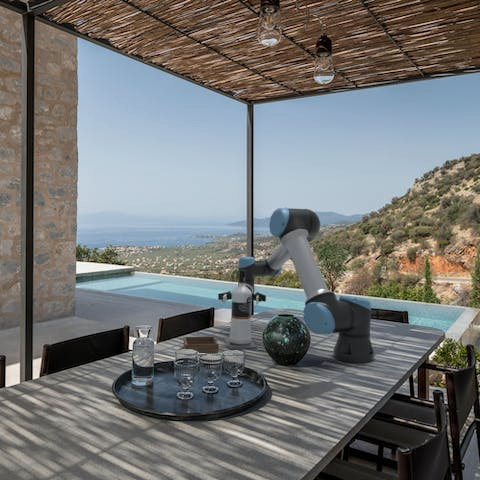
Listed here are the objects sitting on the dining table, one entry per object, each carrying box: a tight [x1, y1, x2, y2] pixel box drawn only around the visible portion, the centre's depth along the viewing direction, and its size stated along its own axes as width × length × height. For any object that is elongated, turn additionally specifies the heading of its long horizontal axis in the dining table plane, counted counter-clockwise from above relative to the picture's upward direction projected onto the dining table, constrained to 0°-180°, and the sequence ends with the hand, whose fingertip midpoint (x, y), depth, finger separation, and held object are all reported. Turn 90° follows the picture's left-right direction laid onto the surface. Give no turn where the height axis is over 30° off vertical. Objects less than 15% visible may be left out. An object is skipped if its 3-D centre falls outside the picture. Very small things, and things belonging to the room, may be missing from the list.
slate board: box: [224, 338, 258, 351], centre depth 191 cm, size 14×11×1 cm
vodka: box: [228, 270, 253, 345], centre depth 191 cm, size 9×9×30 cm
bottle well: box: [182, 335, 220, 353], centre depth 181 cm, size 13×13×4 cm
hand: (240, 300), depth 187 cm, fingers open, 13 cm apart
